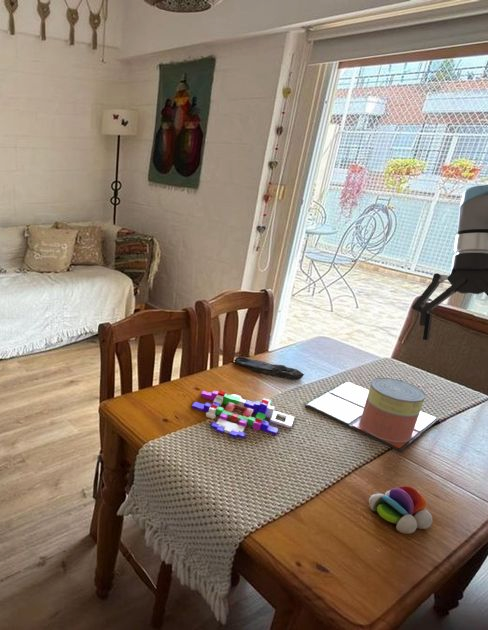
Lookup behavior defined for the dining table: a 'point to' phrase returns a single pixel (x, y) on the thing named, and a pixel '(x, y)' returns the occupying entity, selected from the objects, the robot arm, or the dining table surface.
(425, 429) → the board
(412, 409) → the canned food
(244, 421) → the building block set
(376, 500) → the rainbow cloud toy
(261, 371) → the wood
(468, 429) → the dining table surface
